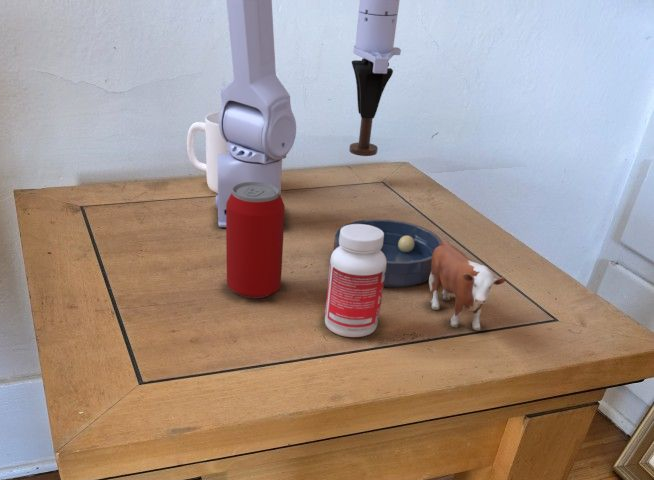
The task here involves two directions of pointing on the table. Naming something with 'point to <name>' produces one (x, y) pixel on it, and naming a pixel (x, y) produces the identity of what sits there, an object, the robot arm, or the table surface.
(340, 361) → the table surface
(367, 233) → the pill bottle
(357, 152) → the brown peg stand
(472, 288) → the bull figurine
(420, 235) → the bowl
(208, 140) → the cup
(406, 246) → the bead
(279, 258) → the beverage can
